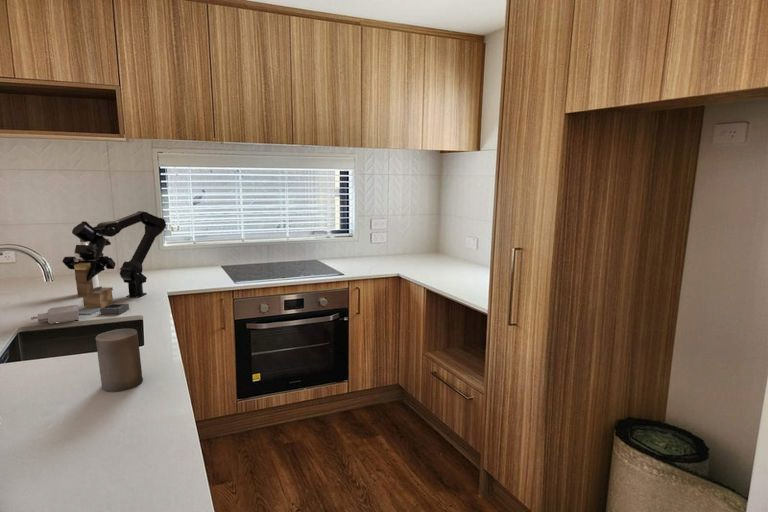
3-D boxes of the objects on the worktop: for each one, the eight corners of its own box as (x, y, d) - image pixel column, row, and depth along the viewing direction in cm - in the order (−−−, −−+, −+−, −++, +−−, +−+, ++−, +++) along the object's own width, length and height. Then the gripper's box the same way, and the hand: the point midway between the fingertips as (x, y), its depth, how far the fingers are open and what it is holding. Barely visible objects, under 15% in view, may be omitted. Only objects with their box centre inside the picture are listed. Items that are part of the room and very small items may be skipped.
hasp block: (111, 309, 201) (110, 303, 201) (129, 309, 201) (128, 303, 200) (100, 314, 194) (100, 308, 193) (119, 314, 194) (118, 308, 193)
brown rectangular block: (84, 294, 199) (80, 263, 197) (93, 294, 199) (90, 262, 197) (77, 297, 195) (74, 264, 193) (88, 297, 195) (84, 264, 193)
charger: (32, 321, 186) (79, 315, 194) (30, 327, 179) (79, 321, 186) (31, 309, 186) (77, 303, 193) (29, 315, 178) (77, 309, 186)
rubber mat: (83, 309, 202) (83, 308, 202) (103, 309, 202) (103, 307, 202) (71, 314, 194) (71, 313, 194) (91, 314, 194) (91, 313, 194)
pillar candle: (149, 376, 134) (143, 323, 132) (132, 391, 124) (126, 334, 122) (113, 377, 134) (106, 324, 131) (93, 393, 124) (86, 336, 122)
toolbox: (96, 302, 212) (94, 285, 211) (114, 302, 212) (112, 285, 211) (82, 308, 203) (80, 290, 201) (101, 308, 203) (99, 290, 201)
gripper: (62, 236, 197) (46, 269, 188) (108, 236, 197) (95, 268, 188) (76, 253, 206) (62, 284, 197) (121, 252, 206) (109, 284, 197)
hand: (81, 280), depth 194 cm, fingers closed on brown rectangular block, 4 cm apart
